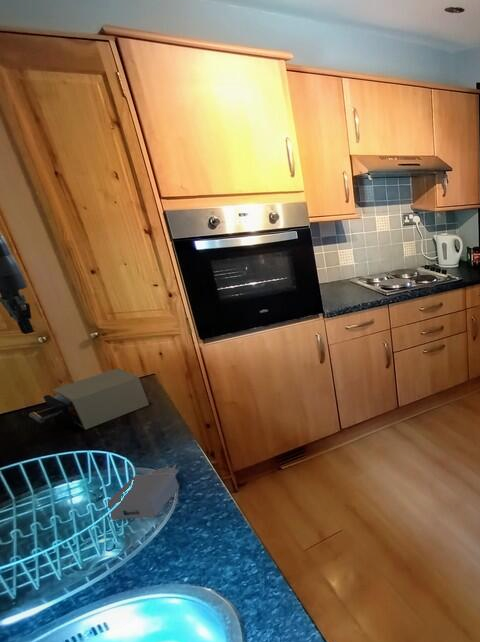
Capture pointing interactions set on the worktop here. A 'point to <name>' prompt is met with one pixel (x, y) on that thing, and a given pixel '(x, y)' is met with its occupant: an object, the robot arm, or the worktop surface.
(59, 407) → the dark drawer with handle
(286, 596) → the worktop surface
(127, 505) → the charger
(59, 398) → the orange lobed block
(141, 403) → the grey sloped box
